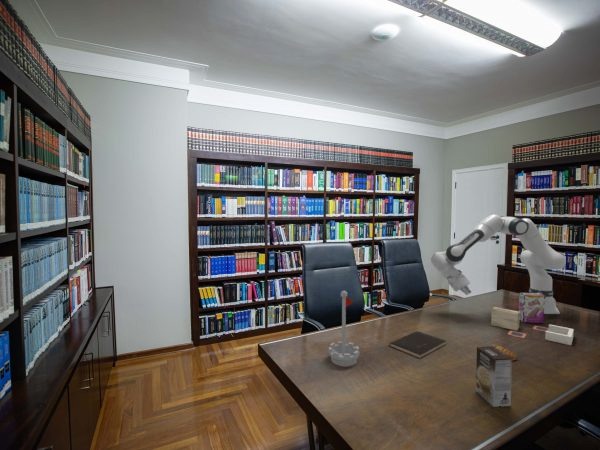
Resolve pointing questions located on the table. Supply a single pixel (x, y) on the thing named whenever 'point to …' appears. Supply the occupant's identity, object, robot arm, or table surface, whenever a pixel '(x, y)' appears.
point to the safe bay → (559, 334)
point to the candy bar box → (531, 307)
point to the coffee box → (494, 376)
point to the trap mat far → (541, 328)
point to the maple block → (505, 318)
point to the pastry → (506, 352)
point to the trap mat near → (517, 334)
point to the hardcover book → (418, 343)
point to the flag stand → (344, 342)
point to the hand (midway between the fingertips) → (469, 293)
